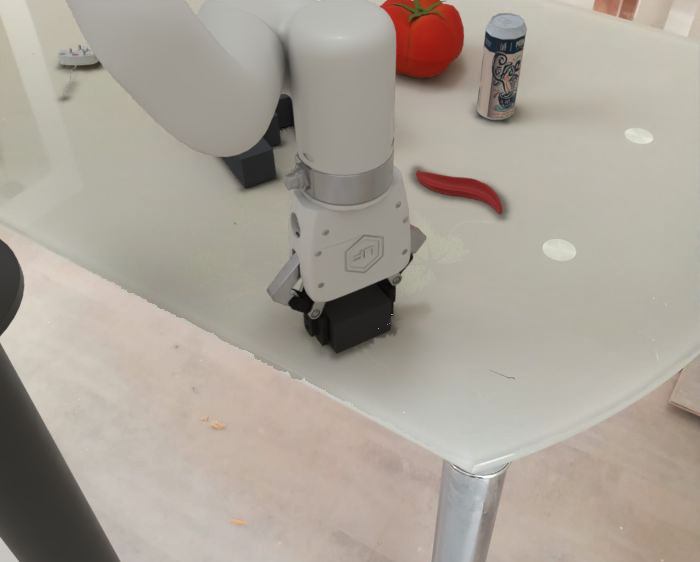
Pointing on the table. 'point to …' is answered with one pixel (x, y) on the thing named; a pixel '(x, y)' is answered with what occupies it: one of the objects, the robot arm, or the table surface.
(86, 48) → the game controller
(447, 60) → the tomato
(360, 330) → the black puzzle block
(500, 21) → the beer can
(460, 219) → the table surface
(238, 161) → the grey pad
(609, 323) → the table surface
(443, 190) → the cayenne pepper
